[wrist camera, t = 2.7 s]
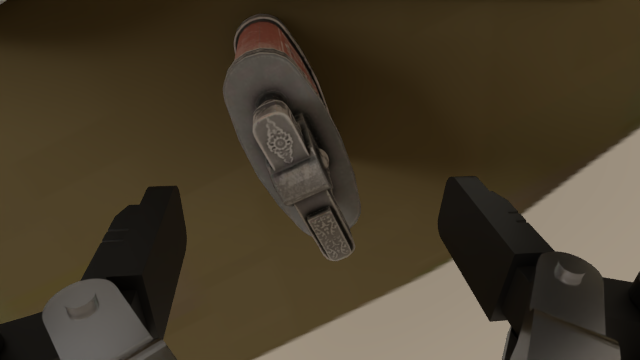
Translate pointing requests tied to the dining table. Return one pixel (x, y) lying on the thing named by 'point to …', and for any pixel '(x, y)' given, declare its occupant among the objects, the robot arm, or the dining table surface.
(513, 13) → the dining table surface
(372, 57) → the dining table surface
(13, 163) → the dining table surface
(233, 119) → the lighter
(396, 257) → the dining table surface
